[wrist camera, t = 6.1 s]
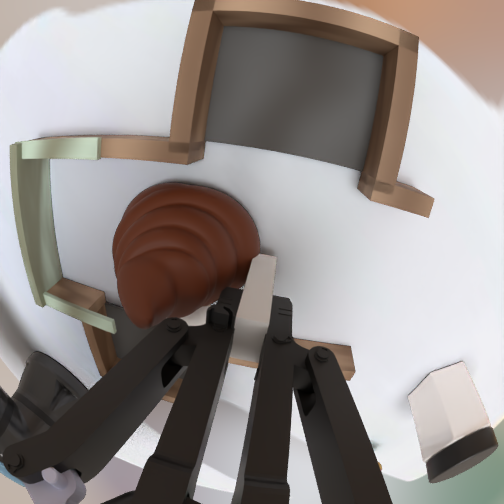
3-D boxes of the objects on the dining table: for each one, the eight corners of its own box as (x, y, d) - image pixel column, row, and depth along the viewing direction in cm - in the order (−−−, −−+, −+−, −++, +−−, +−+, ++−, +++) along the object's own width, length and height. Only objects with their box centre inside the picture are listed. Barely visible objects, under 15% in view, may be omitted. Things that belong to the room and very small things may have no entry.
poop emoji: (272, 192, 17) (254, 258, 9) (250, 300, 21) (227, 402, 12) (132, 171, 18) (35, 212, 9) (134, 273, 21) (69, 346, 13)
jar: (402, 411, 26) (416, 490, 15) (412, 375, 23) (438, 471, 12) (459, 392, 24) (482, 462, 13) (477, 353, 21) (514, 433, 10)
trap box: (76, 343, 28) (60, 363, 24) (55, 42, 13) (24, 38, 9) (314, 407, 26) (314, 436, 23) (435, 64, 11) (466, 55, 8)
